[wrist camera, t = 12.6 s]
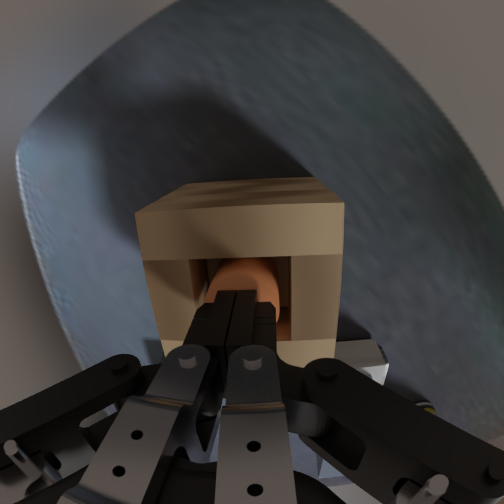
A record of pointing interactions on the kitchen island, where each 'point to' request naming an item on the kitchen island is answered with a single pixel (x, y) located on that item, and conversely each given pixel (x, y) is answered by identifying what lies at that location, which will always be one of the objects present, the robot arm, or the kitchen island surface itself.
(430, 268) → the kitchen island surface
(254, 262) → the brown egg
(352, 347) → the carriage
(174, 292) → the open wooden box
